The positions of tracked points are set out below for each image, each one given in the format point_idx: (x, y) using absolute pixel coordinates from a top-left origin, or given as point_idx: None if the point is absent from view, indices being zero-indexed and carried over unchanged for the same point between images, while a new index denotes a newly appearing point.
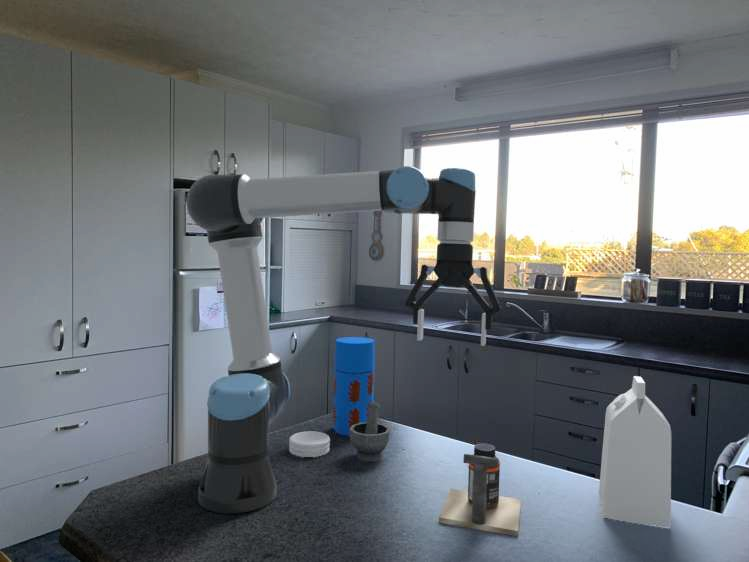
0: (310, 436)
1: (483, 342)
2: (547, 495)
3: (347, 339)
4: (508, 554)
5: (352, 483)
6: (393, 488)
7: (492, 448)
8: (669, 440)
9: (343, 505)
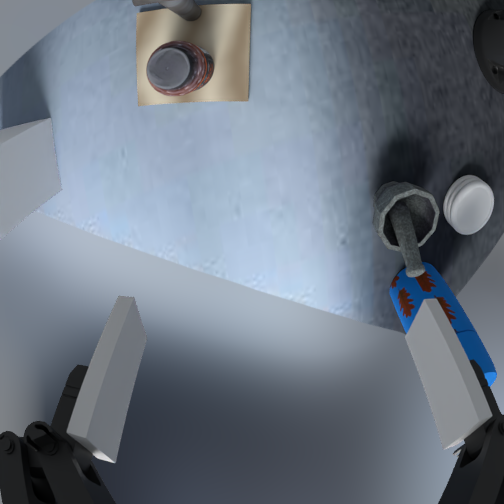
0: (473, 214)
1: (117, 306)
2: (111, 150)
3: None
4: None
5: (401, 98)
6: (341, 92)
7: (151, 65)
8: None
9: (396, 29)
